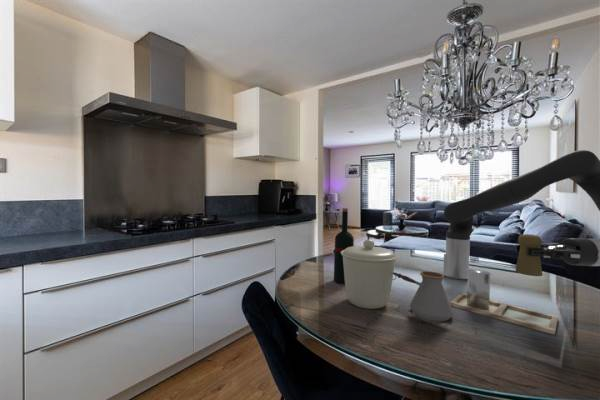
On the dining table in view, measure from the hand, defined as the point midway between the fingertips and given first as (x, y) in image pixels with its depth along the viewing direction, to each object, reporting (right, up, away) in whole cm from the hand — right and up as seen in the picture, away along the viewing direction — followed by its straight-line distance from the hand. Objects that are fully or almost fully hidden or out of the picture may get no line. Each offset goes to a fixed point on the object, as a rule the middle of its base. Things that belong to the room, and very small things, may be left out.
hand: (521, 250), depth 80 cm
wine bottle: (-45, -19, +34) cm, 60 cm away
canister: (-41, -20, +13) cm, 47 cm away
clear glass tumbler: (-7, -19, +9) cm, 22 cm away
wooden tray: (-3, -21, +5) cm, 21 cm away
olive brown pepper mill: (+2, -7, 0) cm, 7 cm away
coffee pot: (-29, -21, 0) cm, 36 cm away
